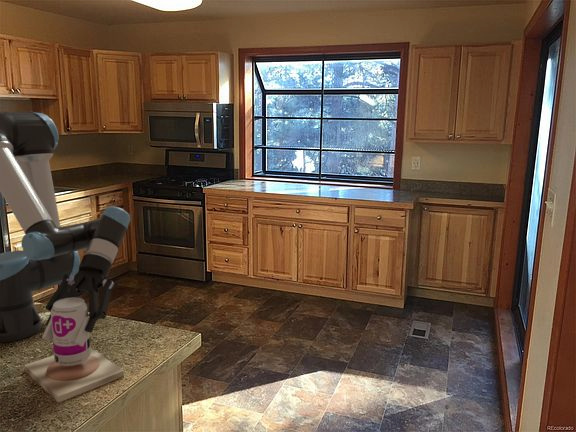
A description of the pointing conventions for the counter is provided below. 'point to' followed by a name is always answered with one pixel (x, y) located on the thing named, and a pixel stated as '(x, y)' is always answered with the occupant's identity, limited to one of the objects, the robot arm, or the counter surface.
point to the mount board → (73, 375)
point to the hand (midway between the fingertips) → (62, 342)
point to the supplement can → (69, 331)
